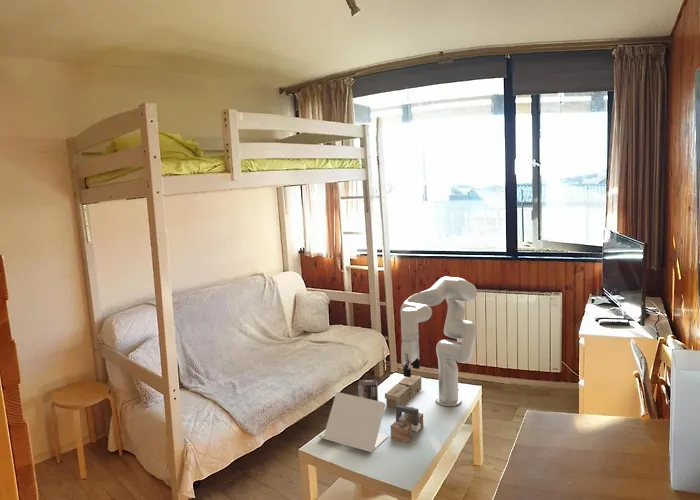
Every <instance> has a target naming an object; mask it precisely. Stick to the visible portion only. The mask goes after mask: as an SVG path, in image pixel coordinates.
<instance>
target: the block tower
mask: <svg viewBox="0 0 700 500" xmlns="http://www.w3.org/2000/svg"><path fill="white" fill-rule="evenodd" d="M420 390H421V391H422V376H421V375H414V374H411V377H405V376H403V378H402V379H401V380H399V382H397V383H396V384H395V385H393V386H392V387H391V389H389V390H388V391H387V392H385V393H384V399H386V403H385V408H387V409H392V410H396V406H397V405H401V406H406V405H407V404H408V403H410V401H411V400H412V399H413V398H414V397H415V396H417V395H418V393H419V392H421V391H420ZM417 392H418V393H417Z"/></svg>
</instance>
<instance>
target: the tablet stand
mask: <svg viewBox="0 0 700 500" xmlns="http://www.w3.org/2000/svg"><path fill="white" fill-rule="evenodd" d="M385 409H386V403H385V402H383V401H380V400H378V401H375V400H371V399H366V398H362V397H359V396H357V395H352V394H348V393H342V392H339V391H336V392H335V396H334V398H333V403H332V406H331V409H330V413H329V416H328V420H327V424H326V427H325V431H324V432H323V433H324V434H323V435H321V434H320V435H319V436H318V438H320V439H323V440H327V441H330V442H333V443H338V444H341V445H345V446H347V447H351V448H354V449H358V450H362V451H366V452H369V453H374V451H376V449H377V448H378V447H380V445H382V444H383V443H384V442H385V441H386V440H387V439H388V438H389V435H387V434H385V433H381V432H379V431H380V427H381V424H382V419H383V416H384V411H385Z"/></svg>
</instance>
